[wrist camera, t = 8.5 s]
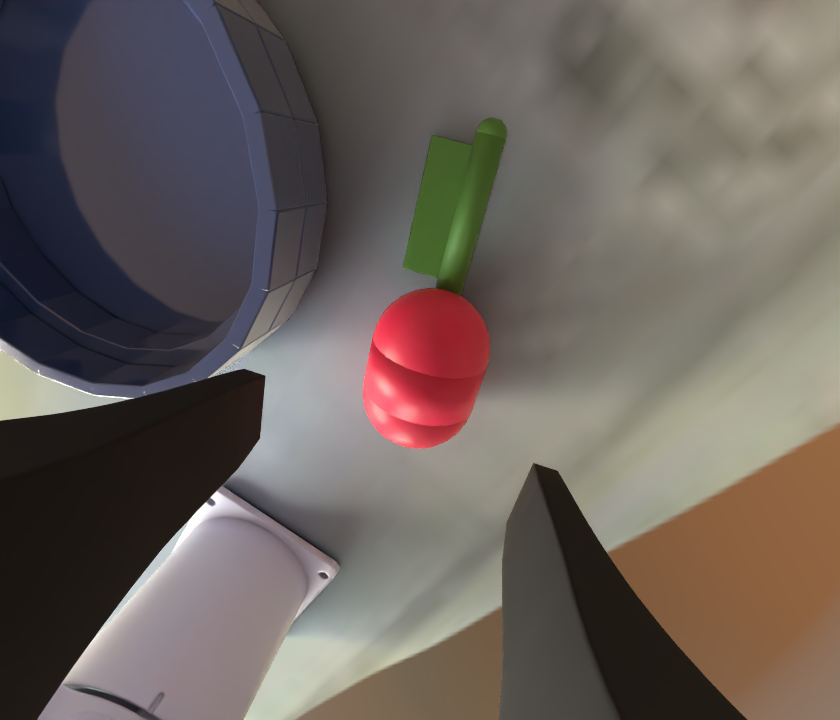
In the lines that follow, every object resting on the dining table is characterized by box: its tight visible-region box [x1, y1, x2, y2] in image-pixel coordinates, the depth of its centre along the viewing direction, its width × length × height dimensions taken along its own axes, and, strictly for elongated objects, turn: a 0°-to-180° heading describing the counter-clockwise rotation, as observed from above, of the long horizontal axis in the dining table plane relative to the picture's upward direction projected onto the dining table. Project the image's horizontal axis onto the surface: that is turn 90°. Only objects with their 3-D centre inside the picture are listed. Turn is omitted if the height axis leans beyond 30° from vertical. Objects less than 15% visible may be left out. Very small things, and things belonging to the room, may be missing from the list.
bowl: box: [0, 0, 327, 399], centre depth 15 cm, size 15×15×4 cm
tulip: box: [363, 118, 507, 448], centre depth 14 cm, size 11×4×4 cm, turn 166°
